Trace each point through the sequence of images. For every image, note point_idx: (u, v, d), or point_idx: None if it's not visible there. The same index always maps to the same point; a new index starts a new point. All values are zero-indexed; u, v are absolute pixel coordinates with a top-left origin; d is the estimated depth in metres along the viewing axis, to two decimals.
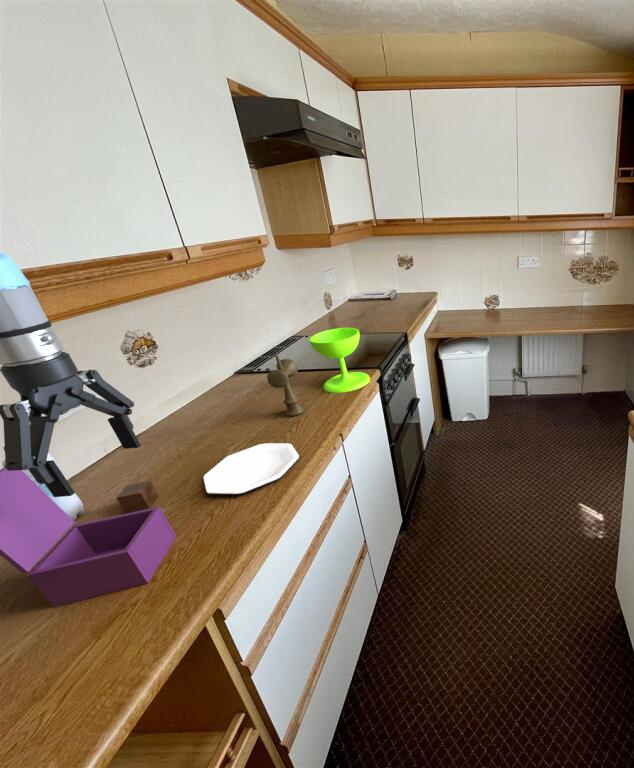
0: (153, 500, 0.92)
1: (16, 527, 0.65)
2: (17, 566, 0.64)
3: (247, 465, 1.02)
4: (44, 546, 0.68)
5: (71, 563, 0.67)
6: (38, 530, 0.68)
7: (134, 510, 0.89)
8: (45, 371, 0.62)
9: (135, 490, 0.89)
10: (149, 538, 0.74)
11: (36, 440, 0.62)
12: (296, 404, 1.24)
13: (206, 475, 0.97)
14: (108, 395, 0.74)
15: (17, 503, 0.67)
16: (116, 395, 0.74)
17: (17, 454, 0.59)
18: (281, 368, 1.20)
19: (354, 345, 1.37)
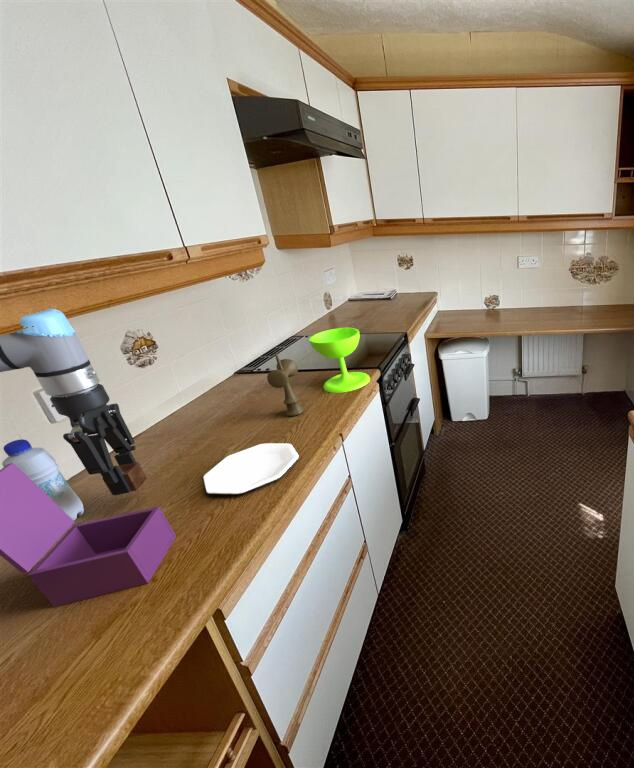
0: (141, 482, 0.89)
1: (16, 527, 0.65)
2: (17, 566, 0.64)
3: (247, 465, 1.02)
4: (44, 546, 0.68)
5: (71, 563, 0.67)
6: (38, 530, 0.68)
7: None
8: (92, 398, 0.78)
9: (122, 471, 0.86)
10: (149, 538, 0.74)
11: (99, 453, 0.81)
12: (296, 404, 1.24)
13: (206, 475, 0.97)
14: (118, 429, 0.88)
15: (17, 503, 0.67)
16: (124, 429, 0.89)
17: (95, 464, 0.80)
18: (281, 368, 1.20)
19: (354, 345, 1.37)
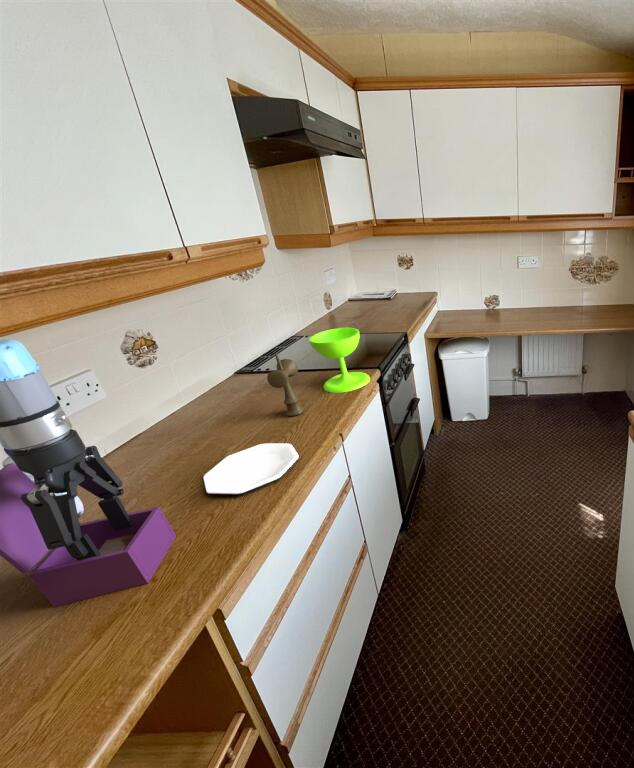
0: None
1: (16, 527, 0.65)
2: (17, 566, 0.64)
3: (247, 465, 1.02)
4: (44, 546, 0.68)
5: (71, 563, 0.67)
6: (38, 530, 0.68)
7: None
8: (62, 450, 0.63)
9: (116, 549, 0.72)
10: (149, 538, 0.74)
11: (65, 518, 0.64)
12: (296, 404, 1.24)
13: (206, 475, 0.97)
14: (101, 473, 0.73)
15: (17, 503, 0.67)
16: (109, 473, 0.74)
17: (57, 534, 0.62)
18: (281, 368, 1.20)
19: (354, 345, 1.37)
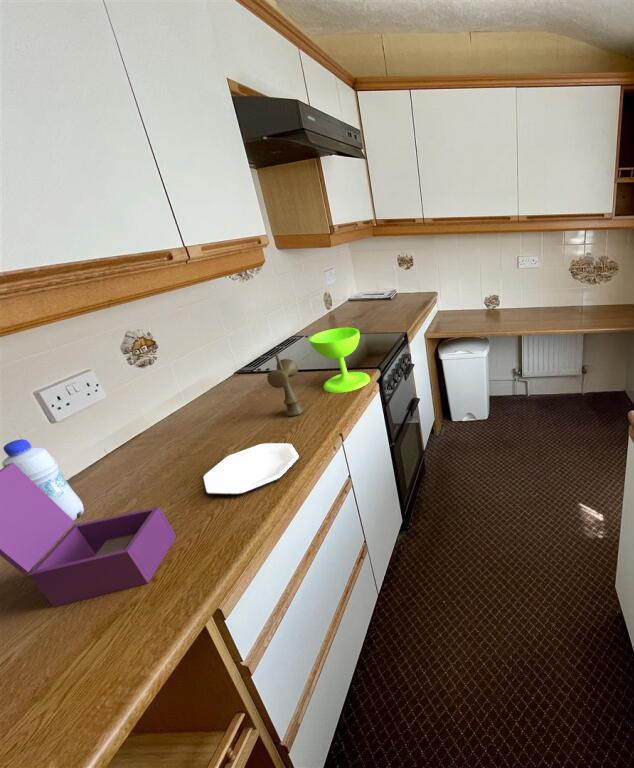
0: None
1: (16, 527, 0.65)
2: (17, 566, 0.64)
3: (247, 465, 1.02)
4: (44, 546, 0.68)
5: (71, 563, 0.67)
6: (38, 530, 0.68)
7: None
8: None
9: (116, 549, 0.72)
10: (149, 538, 0.74)
11: None
12: (296, 404, 1.24)
13: (206, 475, 0.97)
14: None
15: (17, 503, 0.67)
16: None
17: None
18: (281, 368, 1.20)
19: (354, 345, 1.37)
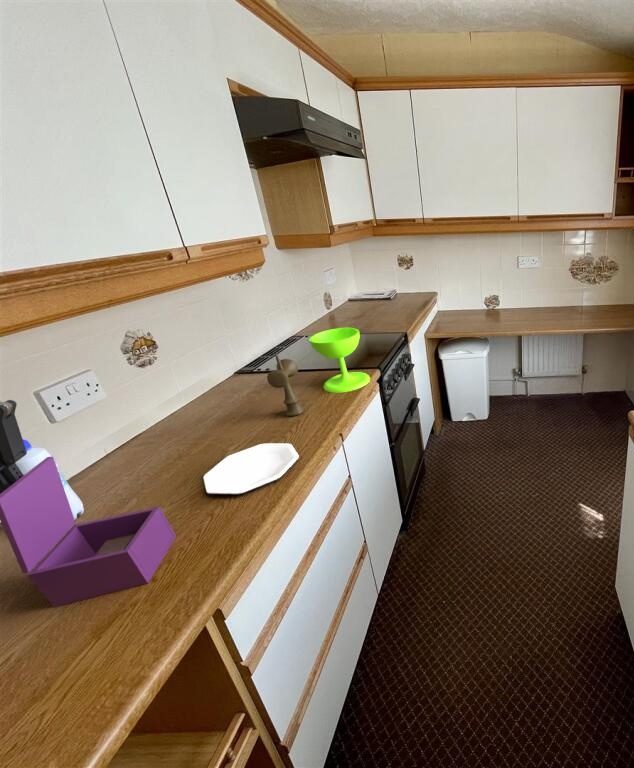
0: None
1: (35, 524, 0.66)
2: (22, 565, 0.64)
3: (247, 465, 1.02)
4: (47, 546, 0.69)
5: (71, 563, 0.67)
6: (48, 529, 0.69)
7: None
8: None
9: (116, 549, 0.72)
10: (149, 538, 0.74)
11: None
12: (296, 404, 1.24)
13: (206, 475, 0.97)
14: None
15: (43, 499, 0.68)
16: None
17: (21, 444, 0.63)
18: (281, 368, 1.20)
19: (354, 345, 1.37)
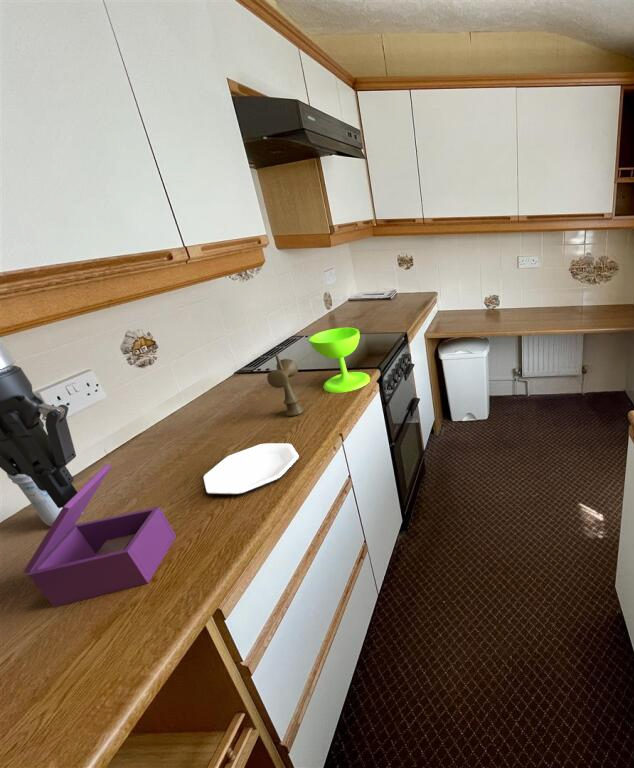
0: None
1: (63, 527, 0.68)
2: (30, 565, 0.65)
3: (247, 465, 1.02)
4: (51, 547, 0.69)
5: (71, 563, 0.67)
6: (63, 531, 0.70)
7: None
8: None
9: (116, 549, 0.72)
10: (149, 538, 0.74)
11: (49, 446, 0.64)
12: (296, 404, 1.24)
13: (206, 475, 0.97)
14: (2, 447, 0.62)
15: (82, 504, 0.70)
16: None
17: (71, 447, 0.65)
18: (281, 368, 1.20)
19: (354, 345, 1.37)
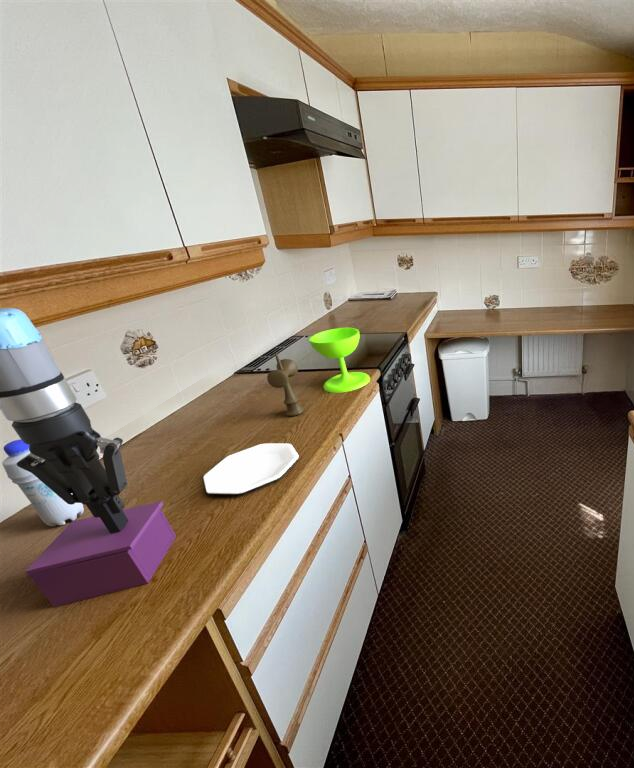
0: None
1: None
2: (38, 570, 0.65)
3: (247, 465, 1.02)
4: None
5: None
6: None
7: None
8: None
9: None
10: (149, 538, 0.74)
11: (104, 476, 0.68)
12: (296, 404, 1.24)
13: (206, 475, 0.97)
14: (62, 478, 0.66)
15: None
16: None
17: (123, 477, 0.69)
18: (281, 368, 1.20)
19: (354, 345, 1.37)
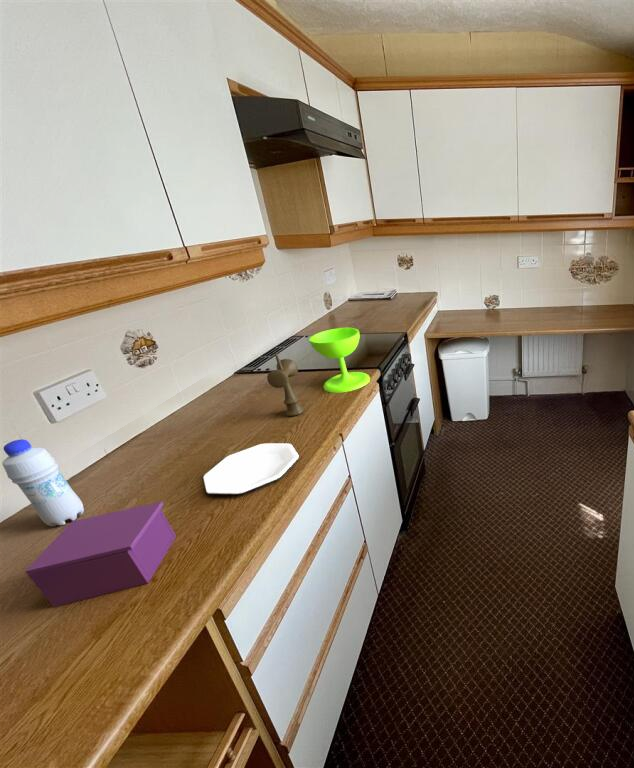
0: None
1: None
2: (38, 570, 0.65)
3: (247, 465, 1.02)
4: None
5: None
6: None
7: None
8: None
9: None
10: (149, 538, 0.74)
11: None
12: (296, 404, 1.24)
13: (206, 475, 0.97)
14: None
15: None
16: None
17: None
18: (281, 368, 1.20)
19: (354, 345, 1.37)
